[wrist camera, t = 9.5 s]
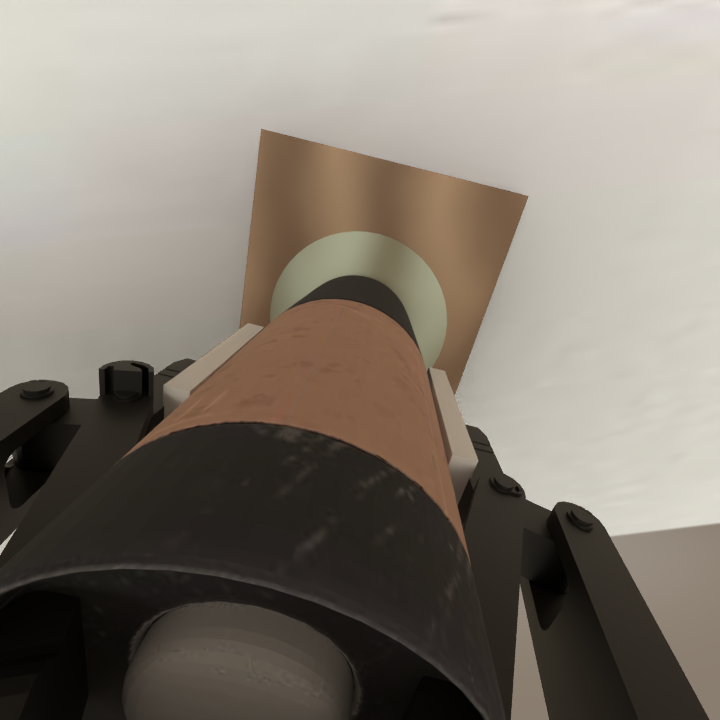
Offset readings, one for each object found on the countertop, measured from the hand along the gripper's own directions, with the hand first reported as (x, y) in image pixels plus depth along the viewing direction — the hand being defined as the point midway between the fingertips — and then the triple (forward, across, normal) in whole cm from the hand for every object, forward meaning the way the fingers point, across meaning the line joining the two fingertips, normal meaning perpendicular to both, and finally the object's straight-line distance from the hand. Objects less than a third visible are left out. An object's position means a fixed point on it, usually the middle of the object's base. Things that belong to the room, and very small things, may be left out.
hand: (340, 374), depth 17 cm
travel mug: (+7, 0, 0) cm, 7 cm away
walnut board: (+10, 0, 0) cm, 10 cm away
